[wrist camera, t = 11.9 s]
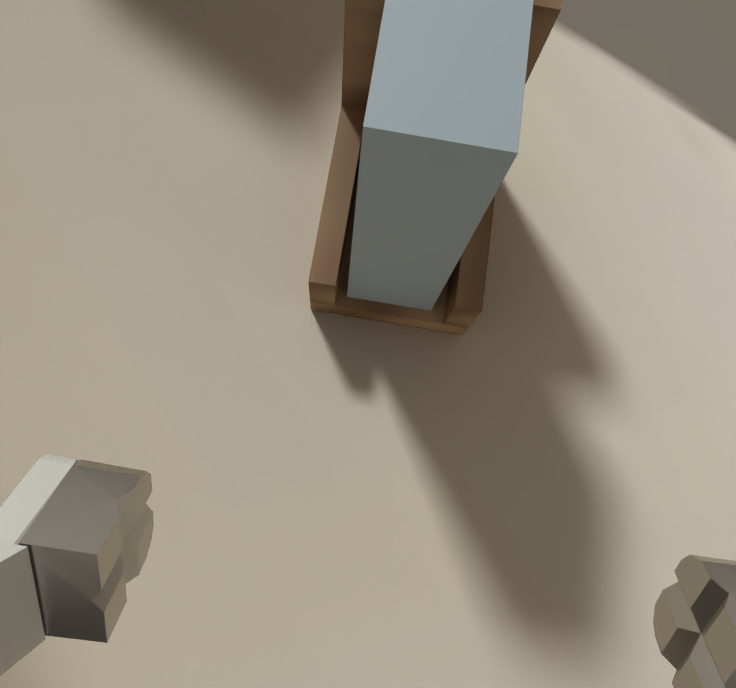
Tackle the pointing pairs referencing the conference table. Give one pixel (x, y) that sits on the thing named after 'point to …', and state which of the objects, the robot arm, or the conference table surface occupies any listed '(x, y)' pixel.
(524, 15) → the blue-grey rectangular block
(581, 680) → the conference table surface
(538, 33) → the brown wooden holder
